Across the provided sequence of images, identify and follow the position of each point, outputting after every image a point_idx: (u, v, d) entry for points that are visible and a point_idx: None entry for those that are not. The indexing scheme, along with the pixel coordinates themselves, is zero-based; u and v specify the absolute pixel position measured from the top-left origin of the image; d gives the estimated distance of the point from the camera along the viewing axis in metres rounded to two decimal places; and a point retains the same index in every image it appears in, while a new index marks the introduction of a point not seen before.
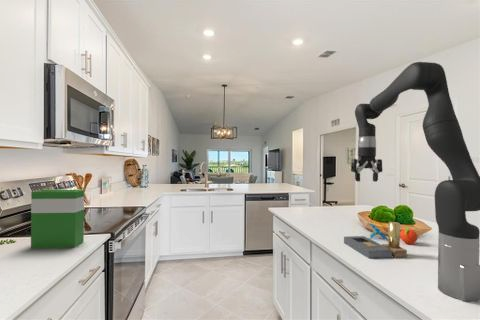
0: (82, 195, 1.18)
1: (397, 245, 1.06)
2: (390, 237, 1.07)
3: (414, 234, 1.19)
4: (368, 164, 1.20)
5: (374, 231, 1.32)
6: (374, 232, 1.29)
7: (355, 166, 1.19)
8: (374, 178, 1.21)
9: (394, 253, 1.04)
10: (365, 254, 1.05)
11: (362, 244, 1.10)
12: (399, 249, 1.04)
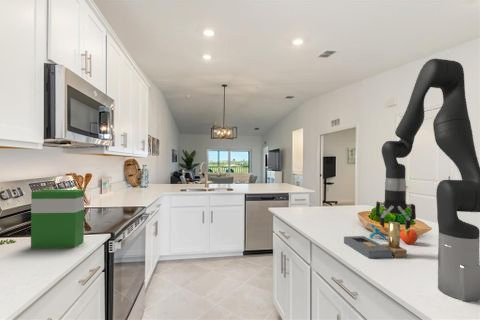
0: (82, 195, 1.18)
1: (397, 245, 1.06)
2: (390, 237, 1.07)
3: (414, 234, 1.19)
4: None
5: (374, 231, 1.33)
6: (373, 232, 1.29)
7: None
8: (383, 223, 1.09)
9: (394, 253, 1.04)
10: (365, 254, 1.05)
11: (362, 244, 1.10)
12: (399, 249, 1.04)
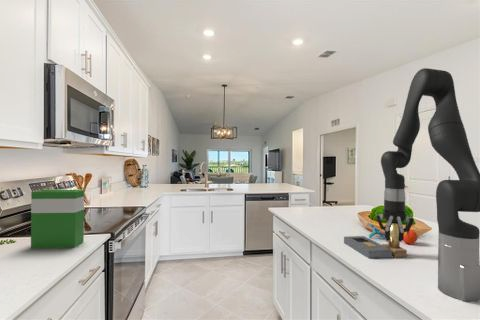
0: (82, 195, 1.18)
1: (397, 245, 1.06)
2: (390, 237, 1.07)
3: (414, 234, 1.19)
4: None
5: (373, 231, 1.33)
6: (373, 232, 1.29)
7: None
8: (388, 236, 1.08)
9: (394, 253, 1.04)
10: (365, 254, 1.05)
11: (362, 244, 1.10)
12: (399, 249, 1.04)
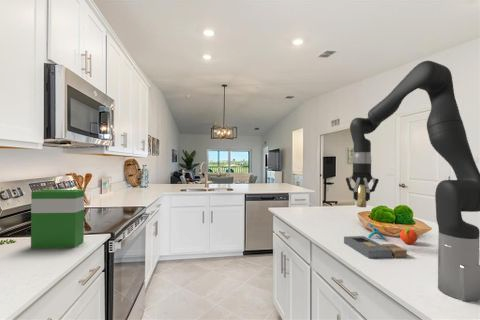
0: (82, 195, 1.18)
1: (364, 204, 1.14)
2: (358, 197, 1.16)
3: (414, 234, 1.19)
4: None
5: (373, 231, 1.33)
6: (372, 232, 1.29)
7: None
8: (356, 197, 1.17)
9: (394, 253, 1.04)
10: (365, 254, 1.05)
11: (362, 244, 1.10)
12: (399, 249, 1.04)
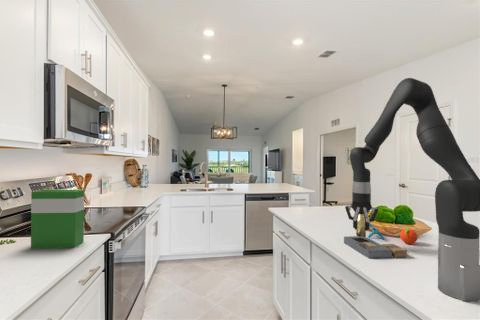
0: (82, 195, 1.18)
1: (363, 234, 1.15)
2: (357, 226, 1.16)
3: (414, 234, 1.19)
4: None
5: (373, 231, 1.33)
6: (372, 232, 1.29)
7: None
8: None
9: (394, 253, 1.04)
10: (365, 254, 1.05)
11: (362, 244, 1.10)
12: (399, 249, 1.04)
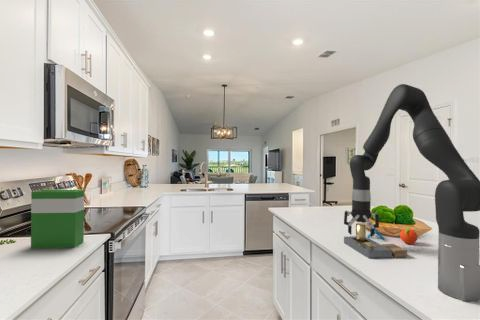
0: (82, 195, 1.18)
1: None
2: (357, 237, 1.16)
3: (414, 234, 1.19)
4: None
5: None
6: None
7: None
8: None
9: (394, 253, 1.04)
10: (365, 254, 1.05)
11: (362, 244, 1.10)
12: (399, 249, 1.04)
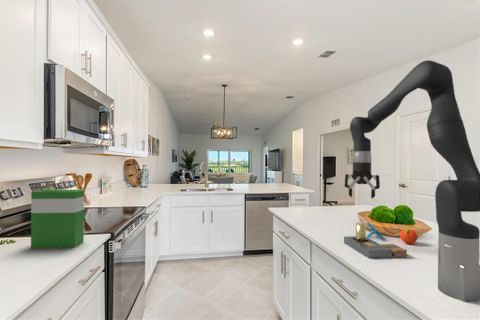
0: (82, 195, 1.18)
1: None
2: (357, 237, 1.16)
3: (414, 234, 1.19)
4: None
5: None
6: (371, 231, 1.30)
7: None
8: None
9: (394, 253, 1.04)
10: (365, 254, 1.05)
11: (362, 244, 1.10)
12: (399, 249, 1.04)
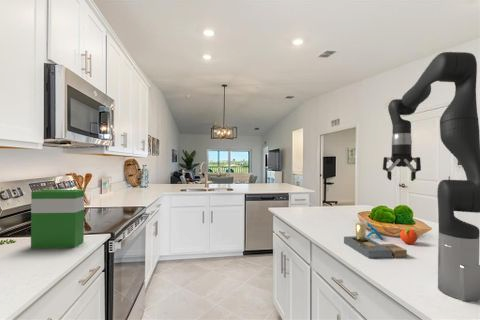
0: (82, 195, 1.18)
1: None
2: (357, 237, 1.16)
3: (414, 234, 1.19)
4: None
5: (372, 231, 1.33)
6: (370, 231, 1.30)
7: None
8: None
9: (394, 253, 1.04)
10: (365, 254, 1.05)
11: (362, 244, 1.10)
12: (399, 249, 1.04)
